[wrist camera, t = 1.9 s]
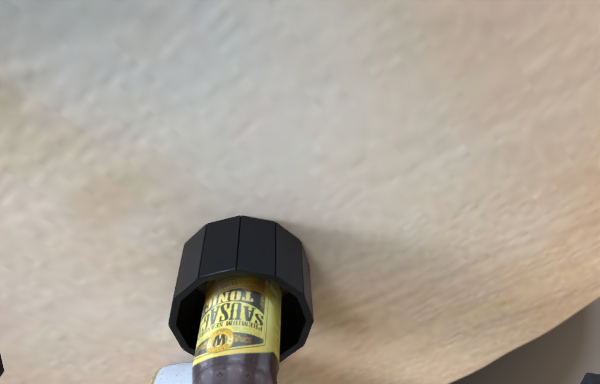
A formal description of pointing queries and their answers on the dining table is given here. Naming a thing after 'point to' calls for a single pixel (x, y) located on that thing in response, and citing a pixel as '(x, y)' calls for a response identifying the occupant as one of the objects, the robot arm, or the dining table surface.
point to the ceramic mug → (174, 374)
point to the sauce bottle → (239, 332)
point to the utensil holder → (249, 262)
